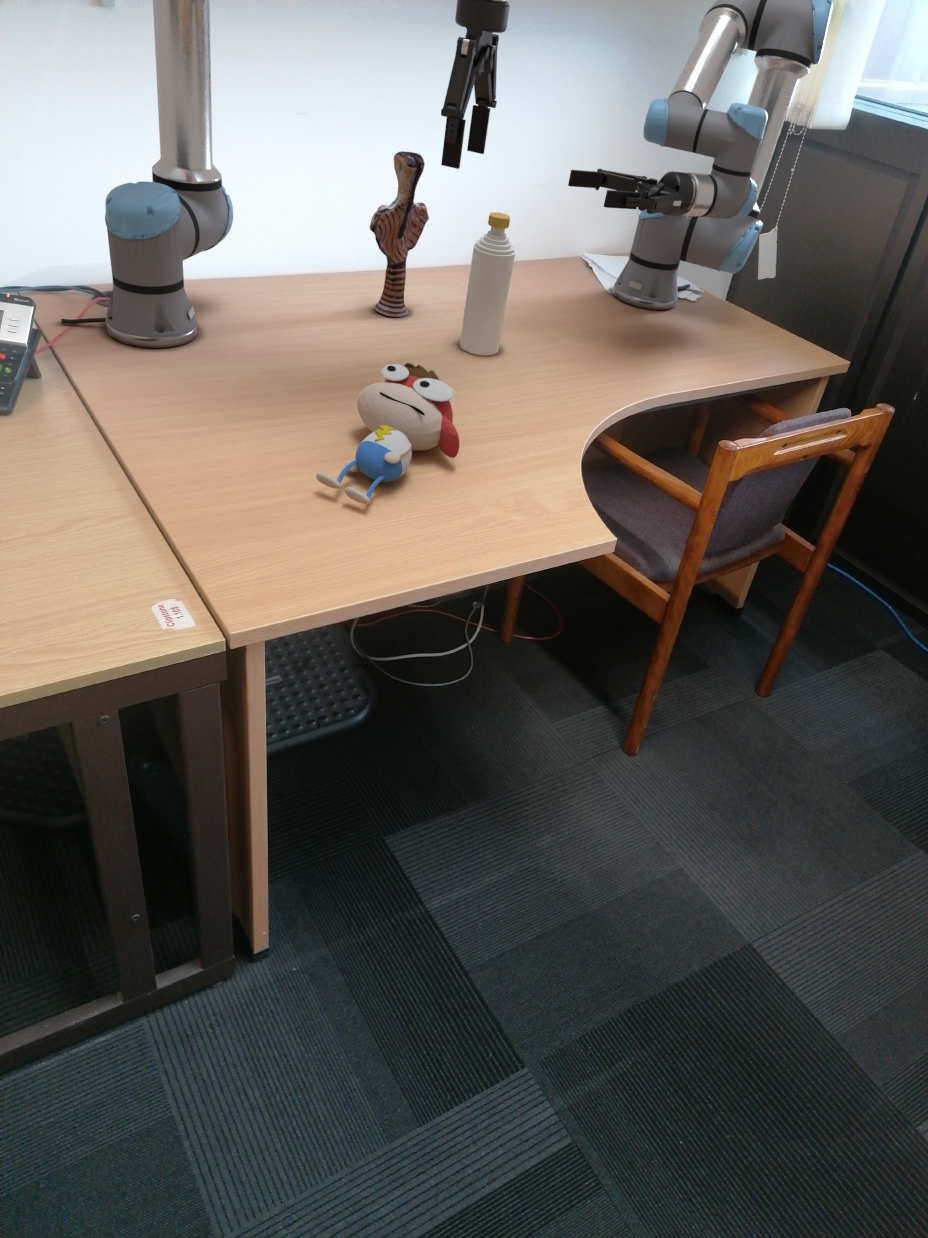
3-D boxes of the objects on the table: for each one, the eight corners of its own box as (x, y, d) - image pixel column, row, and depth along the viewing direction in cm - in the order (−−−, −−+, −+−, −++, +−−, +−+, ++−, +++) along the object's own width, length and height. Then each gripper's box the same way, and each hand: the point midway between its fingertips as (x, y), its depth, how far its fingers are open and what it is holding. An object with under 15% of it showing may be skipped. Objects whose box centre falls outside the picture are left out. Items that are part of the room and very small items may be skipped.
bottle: (503, 355, 172) (526, 225, 157) (466, 355, 170) (486, 223, 155) (491, 339, 178) (512, 212, 163) (454, 338, 175) (472, 209, 160)
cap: (511, 229, 159) (513, 219, 158) (491, 227, 158) (493, 217, 157) (504, 222, 162) (506, 212, 161) (485, 221, 160) (486, 211, 159)
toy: (278, 428, 121) (396, 343, 140) (277, 485, 128) (389, 398, 148) (391, 486, 117) (497, 391, 136) (384, 542, 124) (485, 444, 143)
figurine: (401, 297, 189) (416, 141, 170) (429, 309, 186) (448, 152, 167) (355, 312, 178) (365, 148, 160) (384, 324, 175) (398, 159, 157)
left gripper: (485, 3, 116) (463, 178, 129) (530, -3, 135) (506, 151, 148) (431, -8, 117) (414, 167, 130) (483, -12, 136) (463, 141, 149)
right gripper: (714, 235, 163) (617, 230, 155) (643, 196, 180) (552, 190, 172) (727, 191, 159) (628, 184, 150) (654, 156, 176) (560, 148, 168)
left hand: (463, 159), depth 139 cm, fingers open, 13 cm apart
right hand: (587, 187), depth 161 cm, fingers open, 13 cm apart
